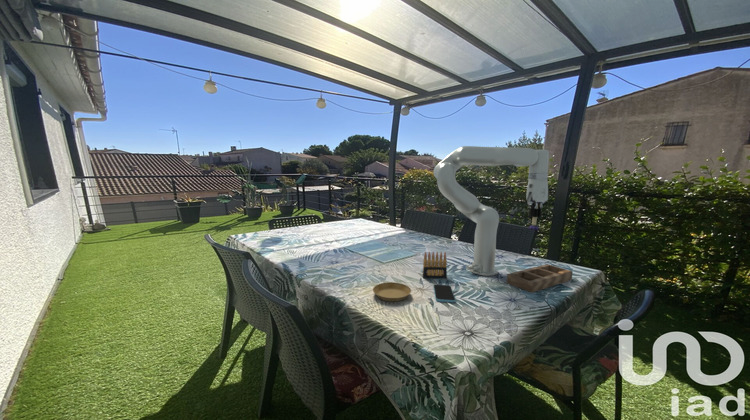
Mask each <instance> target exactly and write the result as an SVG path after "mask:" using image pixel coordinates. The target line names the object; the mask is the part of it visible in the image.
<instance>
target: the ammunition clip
mask: <svg viewBox="0 0 750 420" xmlns="http://www.w3.org/2000/svg"><path fill="white" fill-rule="evenodd" d="M447 265H448V263H447V252H444V254H443V252H442V251H440V253H439V252H438V251H437V252H436V253H435V252H434V251H433V252H432V254H431V252H430V251H429V252H428V255H427V252H426V251H425V252H424V254H423V265H422V278H423V279H447V278H448V275H447V273H448V272H447V271H448V269H447V268H448V267H447Z"/></svg>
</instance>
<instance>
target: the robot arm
mask: <svg viewBox="0 0 750 420" xmlns="http://www.w3.org/2000/svg"><path fill="white" fill-rule="evenodd" d="M549 157H550V151H549V150H548V149H534V148H532V147H512V146H511V147H510V146H509V147H507V146H505V147H503V146H500V147H499V146H478V145H477V146H476V145H475V146H474V145H472V146H471V145H464V146H460V147H457V148H456V149H455V150H453V151H452V152H451V153H449V154H448V155H447V156H446V157H445V158H444V159H443V160H441V161H440V162H439V163H437V164H436V165H435V167H433V176H434V178H435V179H436V183H437V188H438V190H439V192H440V193H441V194H442V196H443V197H445V198H446V199H447V200H449V201H450V202H451V203H452V204H453V206H454V208H456V210H458V211H459V212H460V213H461V214H463V215H464V216H466V217H467V218H468V219H469V220H471V221H472V222H474V223H475V224H476V227H475V231H474V240H473V241H474V242H473V243H474V244H473V245H474V246H473V261H472V262H471V265H466V270H467V271H470V272H471V273H473V274H476V275H480V276H483V277H484V276H486V277H491V276H493V277H494V276H497V275H498V274H499V271H498V269H497V268H495V265H496V264H495V263H496V248H497V231H498V227H499V222H500V216H499V213H498V211H497V210H496V209H495V208H493V207H490V206H487V205H484V204H483V203H481V202H480V201H479V199H478V197H476V195H475V194H473V193H471V192H470V191H469V190H467V189H466V188H464V187H463V186H462V185H460V184H459V182H458V181H457V180H456V172H457V171H458V170H459V169H460V168H462V166H485V167H492V166H493V167H494V166H495V167H497V166H508V165H509V166H514V167H528V178H527V179H528V182H527V188H526V197H525V198H526V201H527V205H529V209H530V210H529V211H530V212H529V216H530V217H532V218H533V217H537V218H538V217H539V218H541V217H542V215H541V214H542V209H543V204H545V203H546V202H547V201H548V200H549V183H548V176H549V175H548V172H549V159H550V158H549ZM532 200H533V201H535V202H532ZM537 202H542V203H538V209H537ZM534 203H535V204H534Z"/></svg>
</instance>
